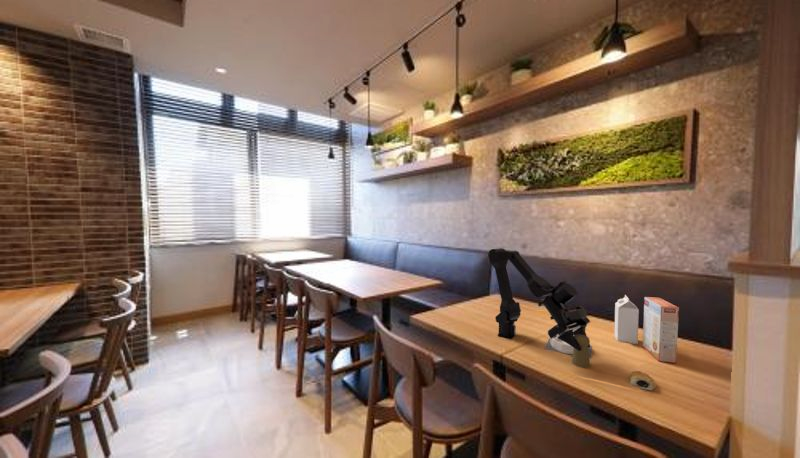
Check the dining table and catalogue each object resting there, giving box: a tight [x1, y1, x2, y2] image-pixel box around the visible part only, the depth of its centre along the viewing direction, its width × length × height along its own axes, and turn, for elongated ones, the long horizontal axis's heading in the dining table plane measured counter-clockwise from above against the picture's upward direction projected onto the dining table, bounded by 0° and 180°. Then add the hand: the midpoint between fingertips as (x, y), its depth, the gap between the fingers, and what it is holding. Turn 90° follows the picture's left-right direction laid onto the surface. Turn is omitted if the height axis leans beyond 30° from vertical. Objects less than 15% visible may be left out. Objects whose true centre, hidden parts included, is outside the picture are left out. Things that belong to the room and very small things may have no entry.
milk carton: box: [614, 294, 640, 345], centre depth 138 cm, size 7×7×19 cm
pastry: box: [628, 370, 657, 392], centre depth 104 cm, size 9×7×4 cm
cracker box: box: [642, 296, 680, 364], centre depth 124 cm, size 14×6×21 cm, turn 163°
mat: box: [544, 337, 593, 359], centre depth 130 cm, size 16×13×1 cm
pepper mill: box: [571, 334, 591, 369], centre depth 116 cm, size 6×6×11 cm
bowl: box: [549, 334, 574, 356], centre depth 130 cm, size 13×13×3 cm
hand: (585, 348), depth 115 cm, fingers closed on pepper mill, 5 cm apart
